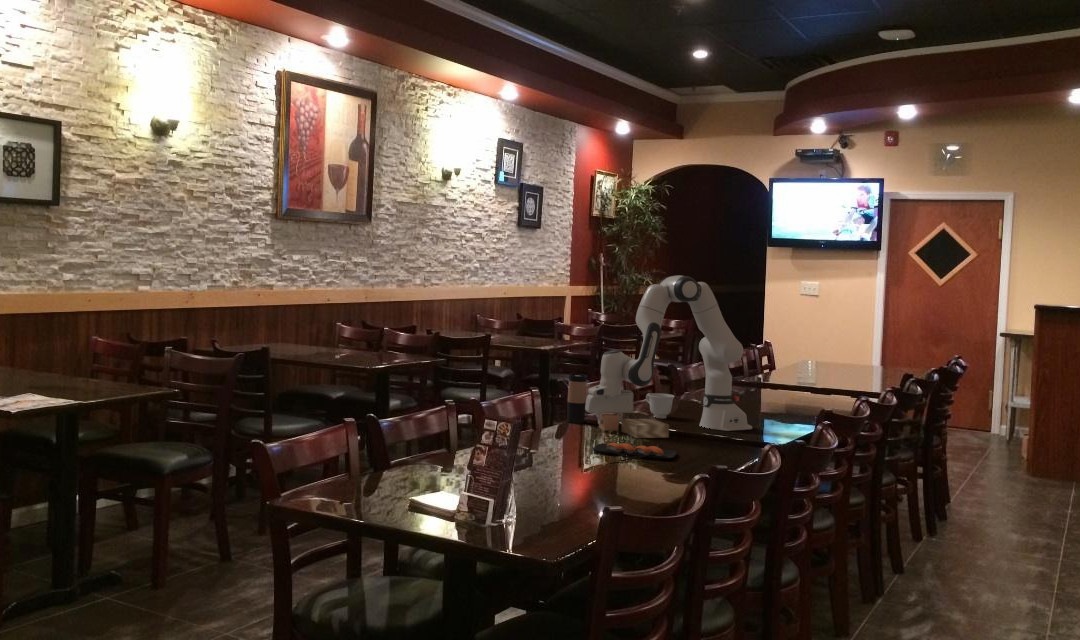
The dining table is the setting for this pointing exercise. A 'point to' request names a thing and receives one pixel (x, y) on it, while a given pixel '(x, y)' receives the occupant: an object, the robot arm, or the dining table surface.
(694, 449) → the dining table surface
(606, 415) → the terracotta cube
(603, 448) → the sushi plate
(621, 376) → the robot arm
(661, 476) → the dining table surface
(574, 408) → the travel mug
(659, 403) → the teacup
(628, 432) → the birch plinth
